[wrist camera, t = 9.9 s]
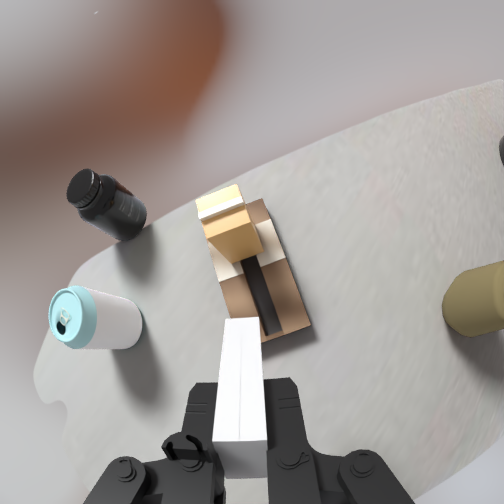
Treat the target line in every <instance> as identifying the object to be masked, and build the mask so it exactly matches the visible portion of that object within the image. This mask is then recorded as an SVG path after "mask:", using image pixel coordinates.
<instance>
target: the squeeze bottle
mask: <svg viewBox="0 0 504 504" xmlns="http://www.w3.org/2000/svg"><path fill="white" fill-rule="evenodd" d="M442 311H443V316H444V318H445V321H446V322H447V323H448V324H449V325H450V326H451V327H452V328H453V329H454V330H456V331H457V332H458V333H460V334H461V335H464V336H467V337H475V336H479V335H483V334H486V333H490V332H494V331H498V330H501V329H504V260H503V261H500V262H496V263H493V264H489V265H486V266H482V267H478V268H475V269H471V270H467V271H464V272H463V273H461V274H460V275H458V276H457V277H456V278H455V280H454V281H453V283H452V284H451V286H450V287H449V289H448V290H447V292H446V294H445V295H444V298H443V303H442Z"/></svg>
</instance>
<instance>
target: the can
mask: <svg viewBox="0 0 504 504" xmlns="http://www.w3.org/2000/svg"><path fill="white" fill-rule="evenodd" d="M49 324H50V328H51V331H52V333H53V334H54V336H55V337H56V338H57V339H58V340H59V341H61V342H63V343H64V344H65V345H67V346H68V347H70V348H73V349H127V348H130V347H131V346H133V345H134V344H135V343H136V342H137V341H138V339H139V337H140V335H141V331H142V317H141V314H140V311H139V309H138V308H137V306H136V305H135V304H134V303H133V302H132V301H130V300H128V299H125V298H121V297H118V296H114V295H110V294H106V293H103V292H99V291H96V290H92V289H89V288H85V287H82V286H71V287H69V288H67V289H62V290H60V291H58V292H57V293H56V294H55V296H54V297H53V299H52V301H51V304H50V307H49Z"/></svg>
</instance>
